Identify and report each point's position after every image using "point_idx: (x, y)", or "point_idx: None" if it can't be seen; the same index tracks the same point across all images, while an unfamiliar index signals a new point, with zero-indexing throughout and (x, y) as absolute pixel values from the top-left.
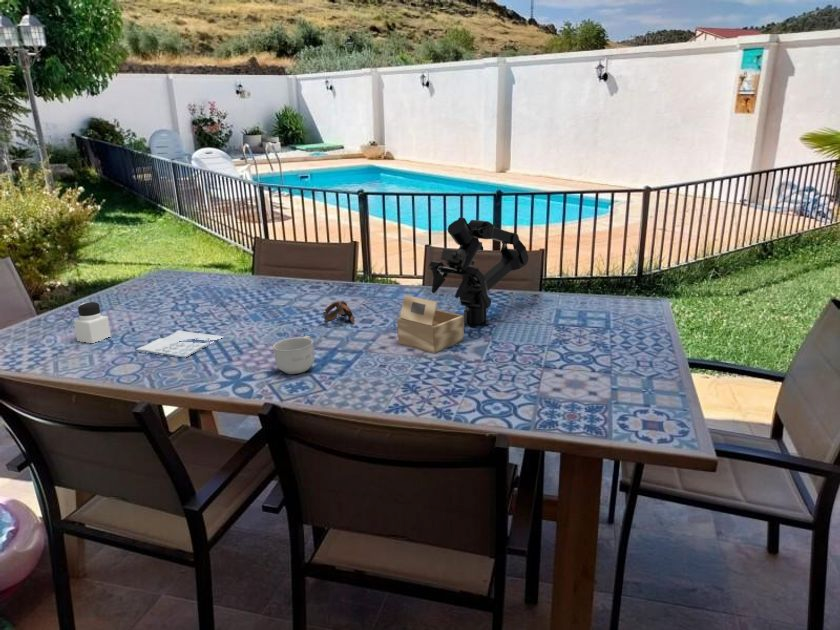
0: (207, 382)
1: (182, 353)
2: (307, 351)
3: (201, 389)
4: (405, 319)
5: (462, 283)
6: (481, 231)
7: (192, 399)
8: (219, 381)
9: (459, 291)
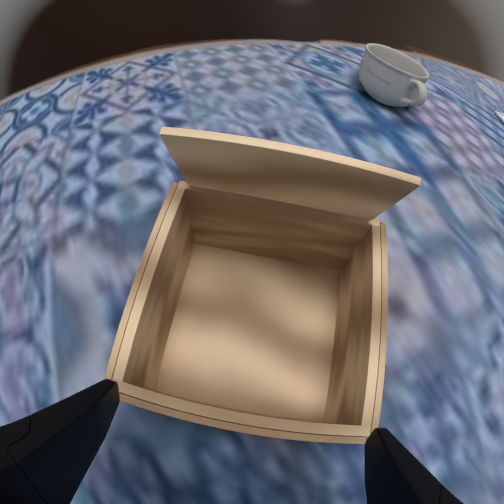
0: None
1: (501, 114)
2: (365, 56)
3: None
4: (367, 258)
5: (14, 438)
6: None
7: None
8: None
9: (67, 400)
